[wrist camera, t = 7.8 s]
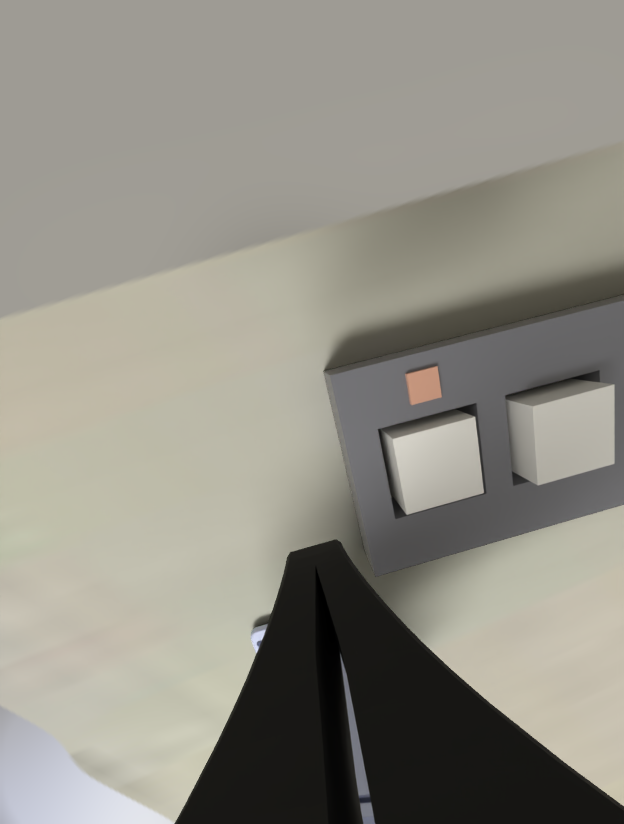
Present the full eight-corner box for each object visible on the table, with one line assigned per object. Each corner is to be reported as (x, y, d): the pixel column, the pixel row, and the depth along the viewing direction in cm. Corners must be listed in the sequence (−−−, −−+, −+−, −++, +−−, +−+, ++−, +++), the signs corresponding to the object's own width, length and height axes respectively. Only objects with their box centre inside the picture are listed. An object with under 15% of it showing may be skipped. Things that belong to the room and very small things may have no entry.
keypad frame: (688, 459, 22) (737, 473, 19) (365, 551, 20) (376, 579, 18) (699, 275, 19) (759, 266, 16) (323, 371, 17) (330, 375, 15)
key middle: (573, 448, 19) (614, 463, 17) (505, 467, 19) (537, 485, 17) (571, 378, 18) (614, 384, 16) (499, 397, 18) (532, 406, 16)
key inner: (459, 474, 19) (484, 493, 17) (391, 493, 19) (406, 515, 17) (450, 407, 18) (475, 416, 16) (377, 426, 18) (392, 439, 16)
